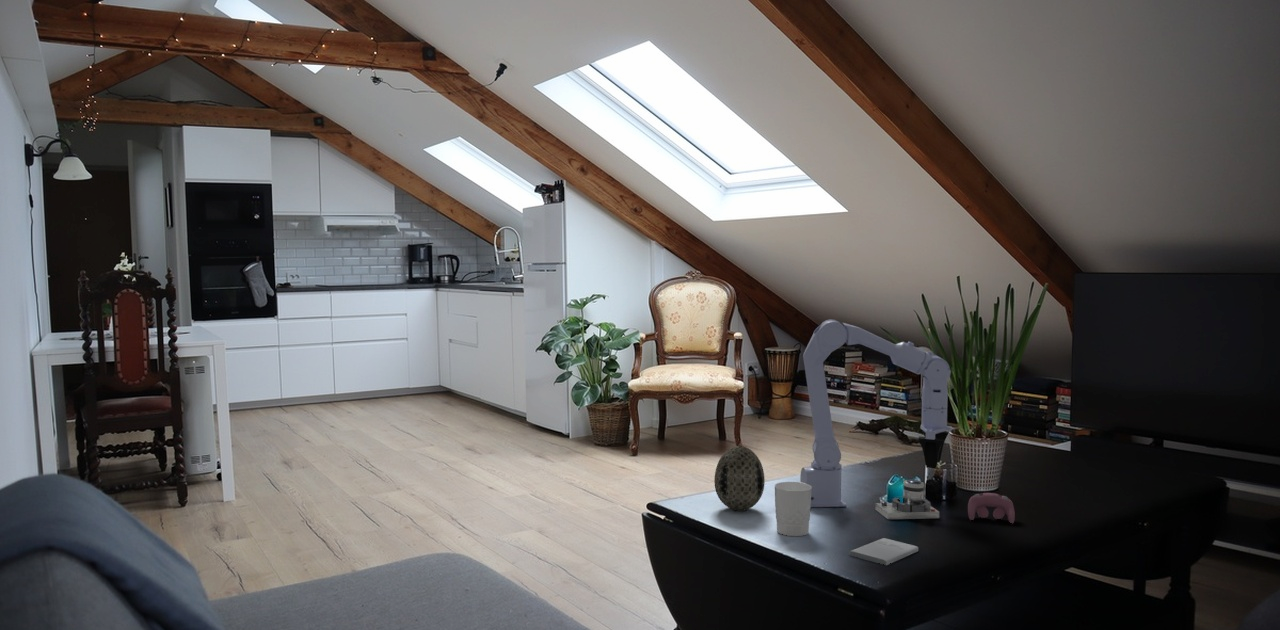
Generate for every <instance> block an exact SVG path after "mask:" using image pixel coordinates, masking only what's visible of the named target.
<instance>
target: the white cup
mask: <svg viewBox="0 0 1280 630" xmlns="http://www.w3.org/2000/svg"><path fill="white" fill-rule="evenodd" d="M811 494H812V487H811V486H810V485H808V484H805V483H800V481H799V482H798V481H782V482H778V483H775V484H774V504H775V505H774V506H775V519H776V533H778V532H779V533H778V534H779V535H782V534H783V535H782V536H786V535H787V537H803V535H804V536H806V535H808V534H809V530H810V529H809V528H810V519H811V509H812V507H811Z"/></svg>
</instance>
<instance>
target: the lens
mask: <svg viewBox="0 0 1280 630" xmlns="http://www.w3.org/2000/svg"><path fill="white" fill-rule="evenodd" d="M902 489H903V490H902V492H903V493H902V497H903V503H905V504H911V505H916V504H923V498H924V494H925V493H924V492H925V482H922V481H920V480H916V479H908V480H907V479H906V480H904V481H903V486H902Z"/></svg>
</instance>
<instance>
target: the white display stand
mask: <svg viewBox="0 0 1280 630" xmlns="http://www.w3.org/2000/svg"><path fill="white" fill-rule="evenodd" d="M899 499H900V498H896V497H894V498H891V502H887V501H881V502H880V503H879V502H878V503H877V502H876V503H875V508H874V509H875V511H877V512H878V513H879V514H880V515H882V517H884V518H886V519H887V520H916V519H917V520H921V519H923V520H924V519H940V511H939V510H937V509H936V508H934V507H933V506H932V504H931V501H929V500H928V499H927V498H924V497H923V504H916V505H911V504H905V503H900V500H899Z"/></svg>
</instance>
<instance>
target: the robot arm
mask: <svg viewBox="0 0 1280 630" xmlns="http://www.w3.org/2000/svg"><path fill="white" fill-rule="evenodd" d="M845 344H846V345H847V346H852V345H862V346H863V347H867V348H869V349H872V350H873V351H876V352H878V353H881V354H884V355H886V356H889V357H890V360H891V363H892V364H893V365H895V366H897V367H899V368H902V369H905V370H907V371H909V372H912V373H914V374H916V375H922V376H923V378H922V386H921V387H922V388H921V390H922V391H921V424H920V428H919V429H920V430H922V431H923V434H924V436H922V435H921V436H918V442H919V444H920V446H921V449H922V452H923V453H922V454H923V458H924V462H925V467H926V468H927V469H936V468H937V465H938V462H939V463H940V461H941V459H942V454H943V449H944V444H945V442H946V439H947V437H948V435H949V434H950V431H952V430H953V427H952V426H950V425H948V393H949V391H948V390H949V389H948V379H950V376H951V374H952V370H951V368H950V365H949V363H948V361H946V360H945V359H944V358H942V357H940V356H938V355H937V354H934V352H933V351H930V350H928V351H926V350H923V349H921V348H919V347H917V346H915V343H913V342H912V341H908V342H905V341H901V342H898V343H893V342H891V341H889V340H886V339H884V338H883V337H881V336H878V335H876V334H874V333H872V332H870V331H868V330H865V329H864V328H862V327H859V326H856V325H852V324H849V323H846V322H842V323H841V322H840V321H838V320H836V319H826V320H824V321H823V322H822V323H820V325H818V326H817V327H816V328H815V330H814V331H813V334H812V336H811V337H810V340H809V342H808V343H807V346H806V348H805V349H804V352H803V353H802V354H803V355H802V357H803V358H802V359H803V364H804V371H805V379H806V386H807V392H808V399H809V405H810V413H811V419H812V424H813V426H812V427H813V433H814V441H813V444H812V452H813V458H814V460H812V461H811V462H810V465H809V466H804V467H802V468H801V470H800V480H799V482H800V483H805V484H808V485H810V486H811V487H812V494H811V508H827V507H828V508H830V507H831V508H832V507H833V508H835V507H837V508H838V507H847V503H846V502H844V501H843V500H842V464H841V463H840V462H841V459H842V452H841V449H840V447H839V443H838V442H837V439H835V433H834V429H833V422H832V414H831V408H830V401H829V394H828V387H827V381H826V380H827V379H826V373H825V368H824V362H825V361H826V359H827V358H828V357H829V356H830V355H831V353H833V352H835V351H836V350H837V349H839V348H840V347H843V345H845Z"/></svg>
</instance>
